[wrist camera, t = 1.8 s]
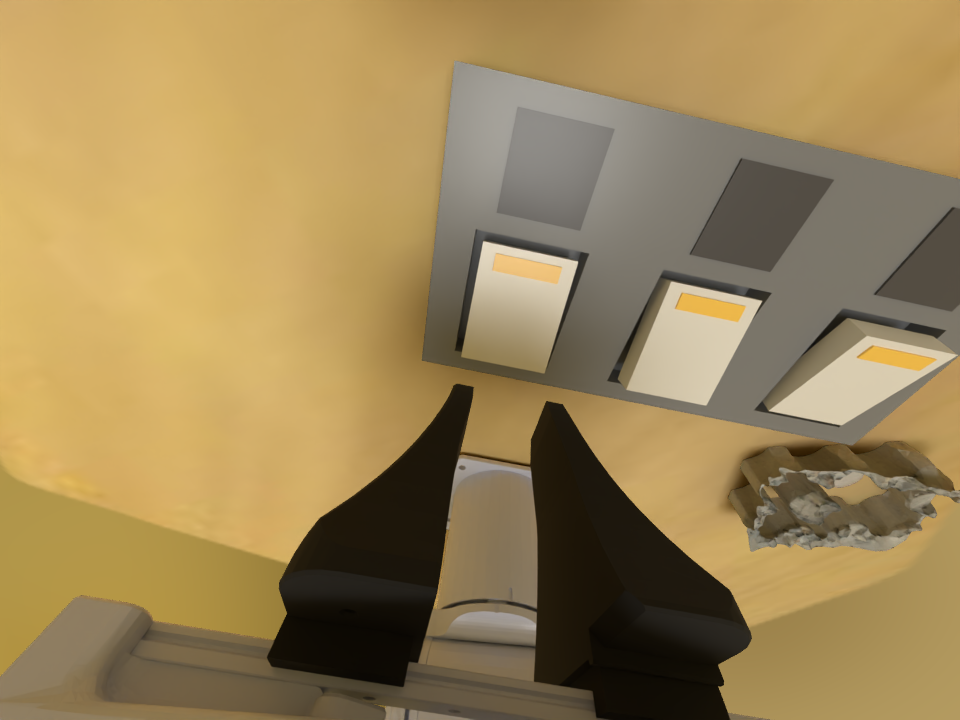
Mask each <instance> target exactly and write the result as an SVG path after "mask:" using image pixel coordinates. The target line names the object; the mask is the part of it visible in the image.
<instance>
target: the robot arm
mask: <svg viewBox="0 0 960 720" xmlns="http://www.w3.org/2000/svg"><path fill="white" fill-rule="evenodd" d="M473 389H474V387H471V386H466V385H461V384H456V385H454V386H453V389H452V391H451V393H450V395H449V397H448V399H447V400H446V402H445V404H444V405H443V407H442V408H441V410H440V411H439V413H438V414H437V415H436V417H435V418H434V420H433V421H432V422H431V424H430V425H429V426H428V427H427V428H426V430H425V431H424V432H423V433H422V434H421V436H420V437H419V438H418V439H417V440H416V441H415V442H414V443H413V445H412V446H411V447H410V448H409V449H408V450H407V451H406V452H405V453H404V454H403V455H402V456H401V457H400V458H399V459H397V460H396V461H395V462H394V463H393V464H392V465H391V466H390V467H389V468H388V469H386V470H385V471H384V472H383V473H382V474H381V475H379V476H378V477H377V478H376V479H374V480H373V481H372V482H371V483H369V484H368V485H367V486H365V487H364V488H363V489H361V490H360V491H359V492H358V493H356V494H355V495H354V496H352V497H351V498H349V499H348V500H346V501H345V502H343V503H342V504H340V505H339V506H337V507H336V508H334V509H333V510H331V511H330V512H328V513H327V514H325V515H324V516H322V517H321V518H320V519H319V520H318V521H317V522H316V523H315V525H314V526H313V527H312V529H311V530H310V531H309V532H308V534H307V535H306V537H305V538H304V539H303V541H302V542H301V544H300V545H299V547H298V549H297V550H296V551H295V553H294V555H293V557H292V559H291V561H290V563H289V564H288V566H287V568H286V570H285V572H284V574H283V576H282V578H281V580H280V582H279V590H280V594H281V597H282V599H283V603H284V606H285V608H286V611H287V615H286V617H285V619H284V621H283V624H282V625H281V628H280V630H279V632H278V634H277V636H276V638H275V640H270V639H264V638H258V637H252V636H245V635H239V634H233V633H227V632H221V631H215V630H208V629H202V628H195V627H189V626H183V625H177V624H170V623H165V622H159V621H153V618H152V616H151V615H150V613H149V612H148V611H147V610H145V609H144V608H142V607H140V606H137V605H135V604H131V603H127V602H121V601H114V600H108V599H102V598H96V597H90V596H83V595H81V596H79V597H75V598H74V599H73V600H72V601H71V602H70V603H69V604H68V605H67V607H66V608H64V609H63V611H62V612H61V613H60V614H59V615H58V616H57V617H56V618H55V619H54V620H53V621H52V622H51V623H50V624H49V626H47V627H46V629H45V630H44V631H43V632H42V633H41V634H40V635H39V636H38V637H37V638H36V639H35V640H34V641H33V642H32V643H31V644H30V645H29V647H28V648H27V649H26V650H25V651H24V652H23V653H22V654H21V655H20V656H19V657H18V658H17V659H16V660H15V661H14V663H12V665H11V666H10V667H9V668H8V669H7V670H6V671H5V672H4V673H3V674H2V675H1V676H0V720H769V719H763V718H756V717H750V716H744V715H738V714H732V713H728V712H727V709H726V706H725V704H724V701H723V698H722V696H721V693H720V690H719V688H718V686H723V685H724V680H723V677H722V675H721V672H720V669H719V667H718V664H720V663H722V662H724V661H725V660H727V659H729V658H731V657H733V656H735V655H737V654H738V653H740V652H742V651H743V650H744V649H746V648H747V647H748V645H749V643H750V641H751V639H752V637H751V632H750V630H749V628H748V626H747V624H746V622H745V620H744V618H743V616H742V614H741V611H740V609H739V607H738V605H737V603H736V601H735V599H734V597H733V595H732V593H731V591H730V590H729V589H728V588H726V587H725V586H724V585H723V584H722V583H720V582H719V581H718V580H717V579H715V578H714V577H713V576H712V575H710V574H709V573H708V572H707V571H705V570H704V569H703V568H702V567H700V566H699V565H698V564H697V563H696V562H694V561H693V560H692V559H691V558H690V557H688V556H687V555H686V554H685V553H684V552H683V551H682V550H681V549H679V548H678V547H677V546H676V545H675V544H674V543H673V542H672V541H671V540H669V539H668V538H667V537H666V536H665V535H664V534H663V533H662V532H661V531H660V530H659V529H658V528H657V527H656V526H655V525H654V524H653V523H652V522H651V521H650V520H649V519H648V518H647V517H646V516H645V515H644V514H643V513H642V512H641V511H640V510H639V509H638V508H637V507H636V506H635V505H634V503H633V502H632V501H631V500H630V499H629V498H628V497H627V496H626V494H625V493H624V492H623V491H622V490H621V489H620V487H619V486H618V485H617V484H616V483H615V481H614V480H613V479H612V478H611V476H610V475H609V474H608V472H607V471H606V470H605V468H604V467H603V466H602V464H601V463H600V462H599V460H598V459H597V458H596V456H595V455H594V453H593V452H592V450H591V449H590V447H589V446H588V444H587V443H586V441H585V440H584V438H583V437H582V435H581V433H580V432H579V430H578V429H577V427H576V425H575V424H574V422H573V420H572V419H571V417H570V415H569V414H568V412H567V411H566V409H565V407H564V406H563V404H558V403H553V402H548V401H546V403H545V406H544V408H543V411H542V413H541V416H540V418H539V421H538V424H537V426H536V429H535V431H534V434H533V436H532V439H531V463H530V466H531V467H526V466H521V465H516V464H510V463H505V462H500V461H494V460H489V459H484V458H478V457H473V456H468V455H460V451H461V447H462V443H463V438H464V434H465V429H466V425H467V421H468V416H469V412H470V408H471V403H472V398H473ZM459 455H460V456H459ZM462 465H463V466H462ZM446 529H448V530H449V533H448V539H447V545H446V552H445V558H444V564H443V571H442V577H441V584H440V590H439V596H438V603H437V609H433V606H434V602H435V599H436V595H437V590H438V584H439V578H440V572H441V565H442V558H443V551H444V543H445V536H446ZM374 704H377V705H384V706H386V709H385V708H383V707H380V706H377V705H374Z"/></svg>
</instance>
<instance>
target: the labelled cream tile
mask: <svg viewBox="0 0 960 720" xmlns="http://www.w3.org/2000/svg"><path fill="white" fill-rule="evenodd" d="M577 265H578V261H576V260H574V259H572V258H568V257H563V256H558V255H554V254H549V253H544V252H540V251H535V250H530V249H526V248H521V247H516V246H512V245H507V244H502V243H497V242H493V241H488V240H484V241H483V245H482V251H481V256H480V261H479V266H478V272H477V277H476V282H475V287H474V292H473V298H472V303H471V308H470V313H469V318H468V324H467V329H466V334H465V339H464V345H463V350H462V355H461V357H464V358H469V359H474V360H479V361H484V362H489V363H494V364H499V365H504V366H509V367H514V368H519V369H524V370H529V371H534V372H539V373H545V370H546V367H547V364H548V360H549V357H550V354H551V350H552V347H553V344H554V341H555V337H556V334H557V331H558V327H559V324H560V321H561V318H562V314H563V311H564V308H565V304H566V301H567V298H568V294H569V291H570V288H571V285H572V281H573V278H574V275H575V271H576V268H577Z"/></svg>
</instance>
